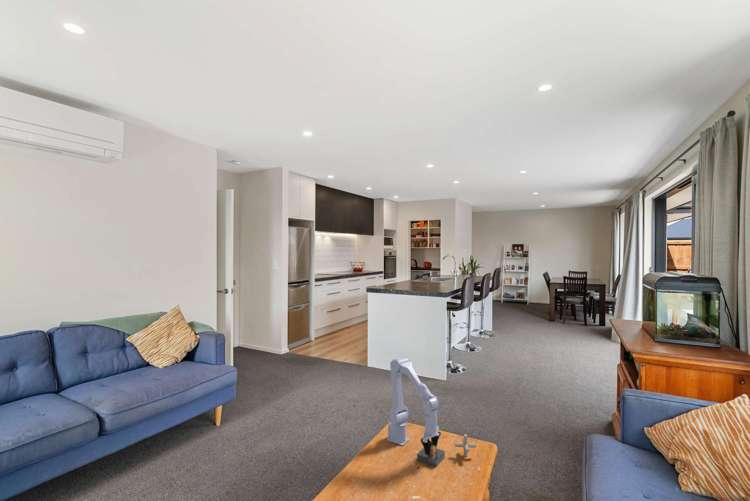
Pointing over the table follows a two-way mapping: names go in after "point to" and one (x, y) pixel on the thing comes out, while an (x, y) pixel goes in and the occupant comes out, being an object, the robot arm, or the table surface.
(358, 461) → the table surface
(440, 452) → the grey square frame
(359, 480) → the table surface
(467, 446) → the pipe connector
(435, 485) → the table surface
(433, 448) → the tan wooden block
